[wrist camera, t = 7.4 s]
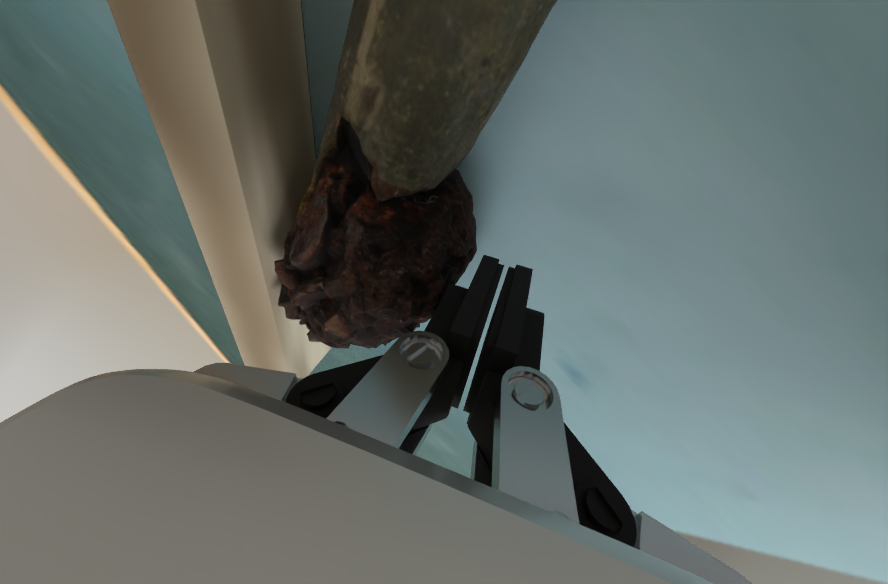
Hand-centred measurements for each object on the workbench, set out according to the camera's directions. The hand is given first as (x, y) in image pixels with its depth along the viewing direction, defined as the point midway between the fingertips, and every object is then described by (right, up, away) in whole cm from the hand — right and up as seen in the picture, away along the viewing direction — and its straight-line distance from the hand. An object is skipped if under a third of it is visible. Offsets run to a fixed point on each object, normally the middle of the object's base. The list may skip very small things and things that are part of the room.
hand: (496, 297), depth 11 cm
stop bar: (-9, +5, +4) cm, 11 cm away
